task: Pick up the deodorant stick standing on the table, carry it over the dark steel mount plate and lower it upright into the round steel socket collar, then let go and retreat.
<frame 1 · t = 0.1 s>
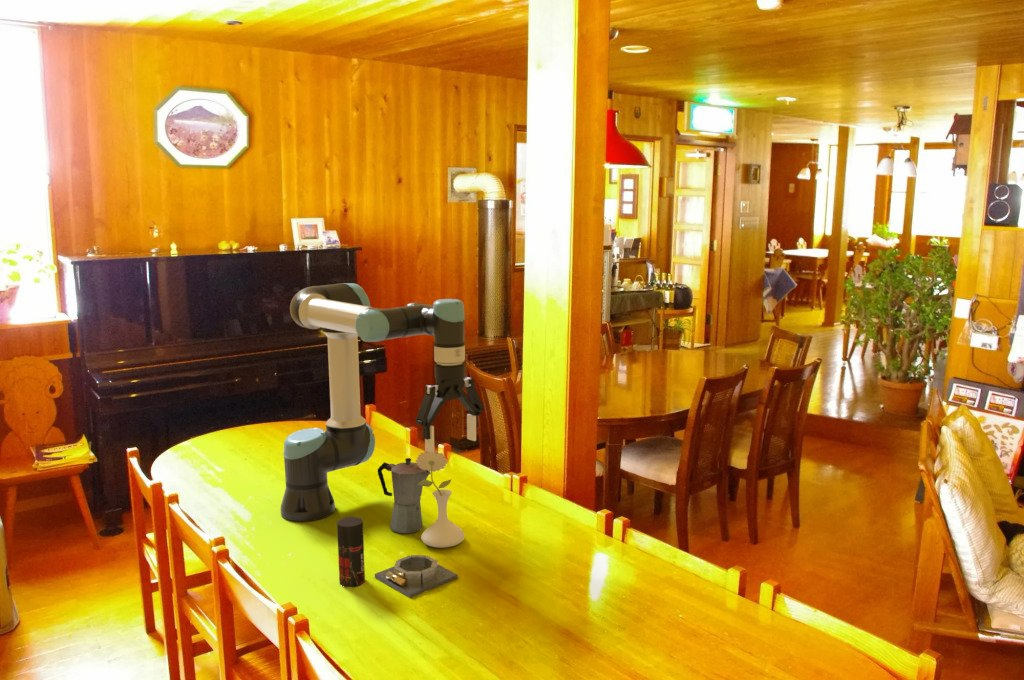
hand: (451, 445, 208), 28 cm above the table, fingers open, 13 cm apart
deodorant: (352, 582, 196), on the table
moka pot: (405, 528, 227), on the table
flower in vase: (440, 543, 218), on the table
socket mount: (416, 577, 198), on the table
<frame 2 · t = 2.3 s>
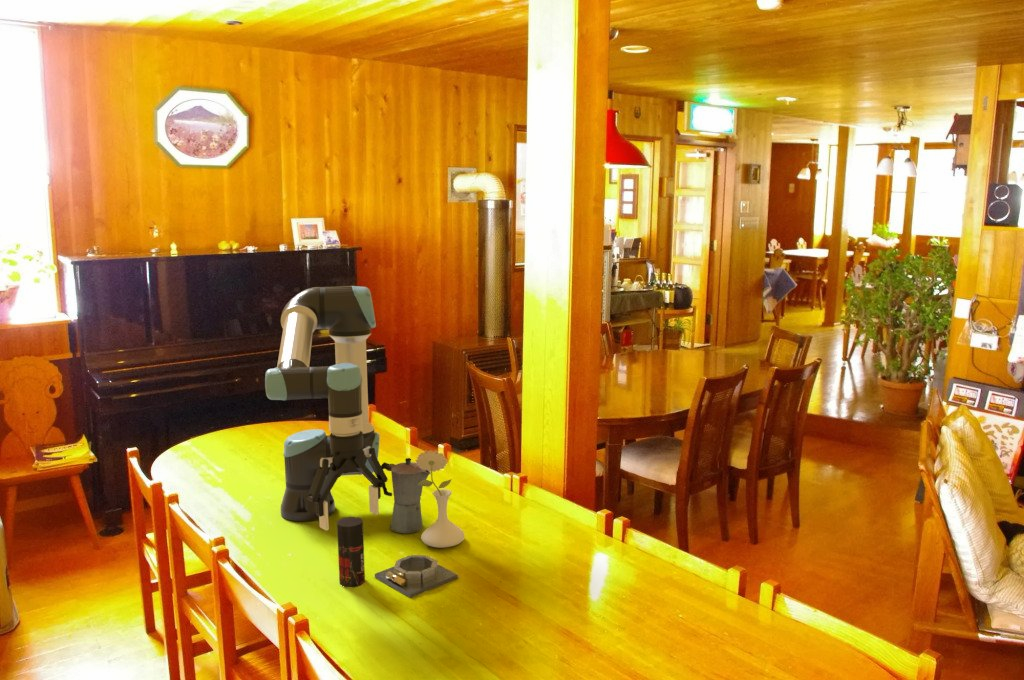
hand: (349, 520, 193), 15 cm above the table, fingers open, 13 cm apart
nothing on the table moved.
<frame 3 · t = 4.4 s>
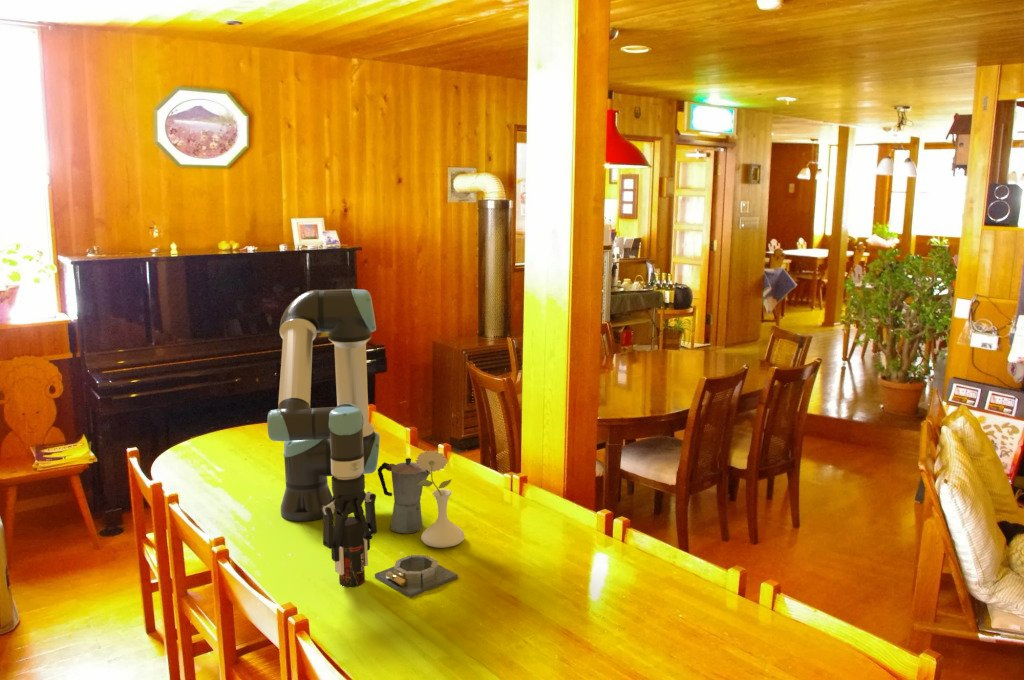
hand: (351, 568, 196), 3 cm above the table, fingers closed on deodorant, 6 cm apart
deodorant: (352, 582, 196), on the table, touching gripper
everything else where it was.
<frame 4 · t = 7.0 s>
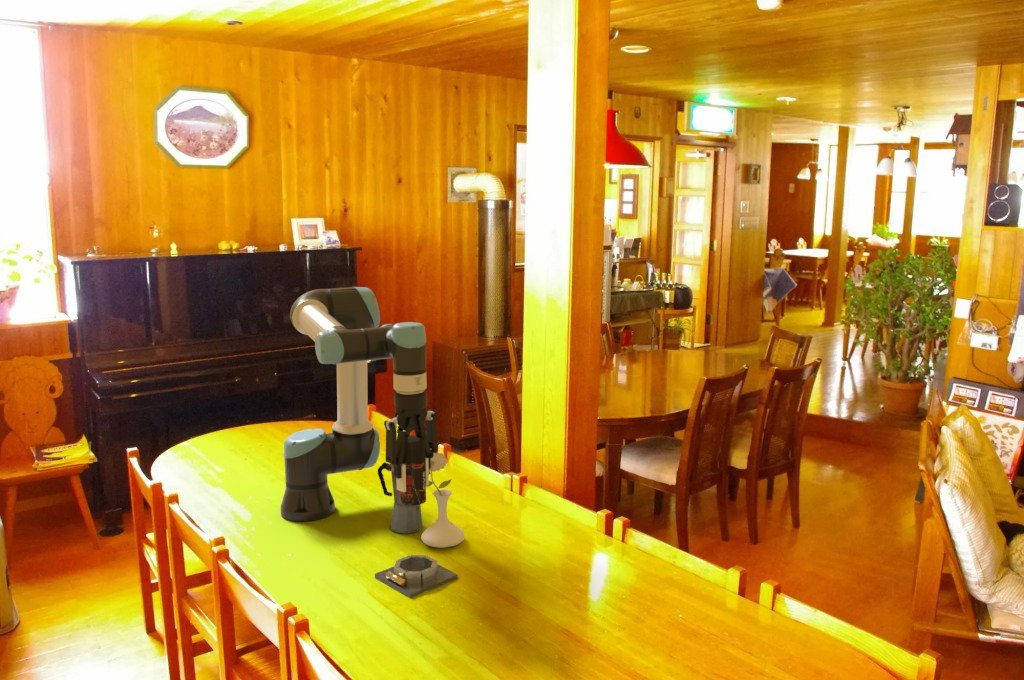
hand: (412, 486, 194), 23 cm above the table, fingers closed on deodorant, 6 cm apart
deodorant: (413, 501, 194), point 19 cm above the table, touching gripper
everything else where it was.
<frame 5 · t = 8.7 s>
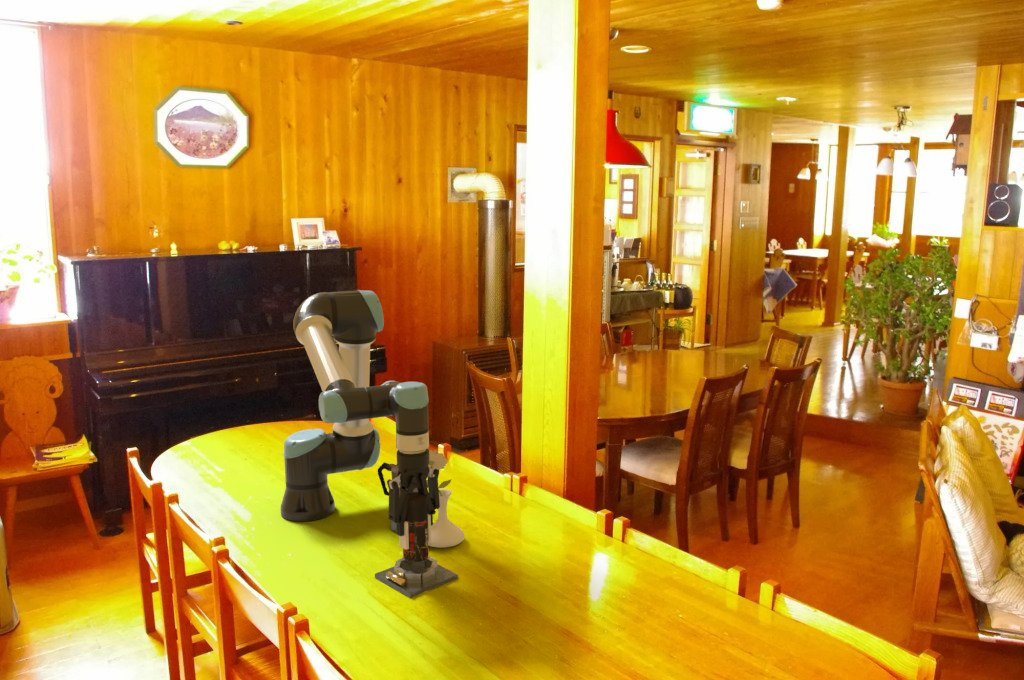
hand: (415, 543, 196), 9 cm above the table, fingers closed on deodorant, 6 cm apart
deodorant: (415, 557, 197), point 5 cm above the table, touching gripper
everything else where it was.
when the fingers open (6 cm above the table, at t = 10.0 s): deodorant drops 1 cm, resting on socket mount.
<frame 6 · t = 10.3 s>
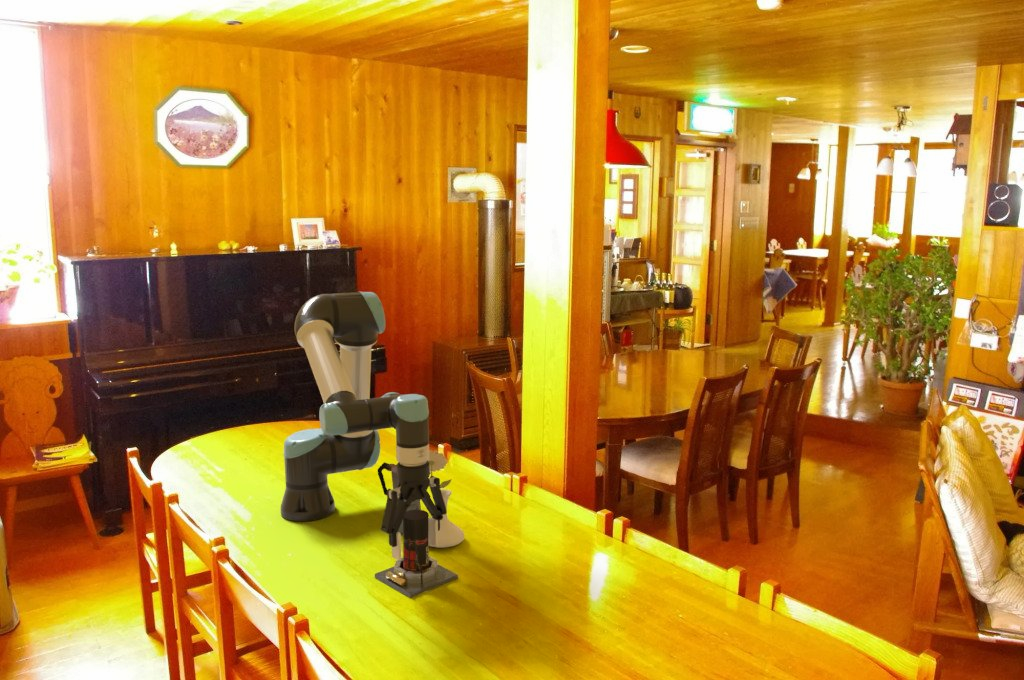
hand: (415, 551, 197), 7 cm above the table, fingers open, 10 cm apart
deodorant: (416, 574, 198), point 1 cm above the table, touching socket mount
everything else where it was.
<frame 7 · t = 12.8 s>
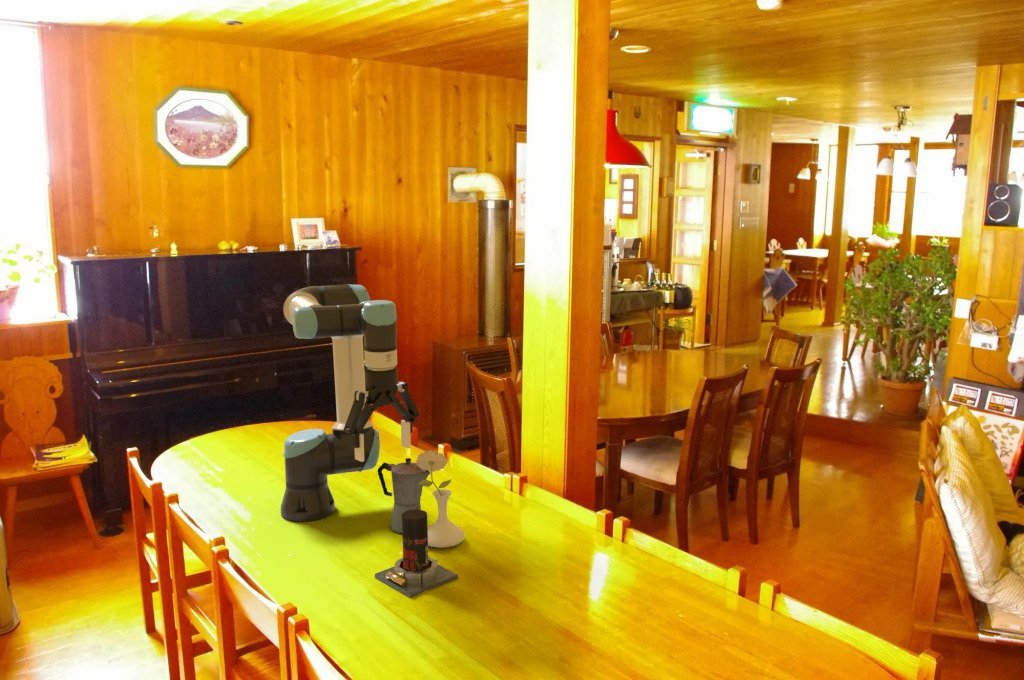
hand: (383, 453, 198), 29 cm above the table, fingers open, 13 cm apart
nothing on the table moved.
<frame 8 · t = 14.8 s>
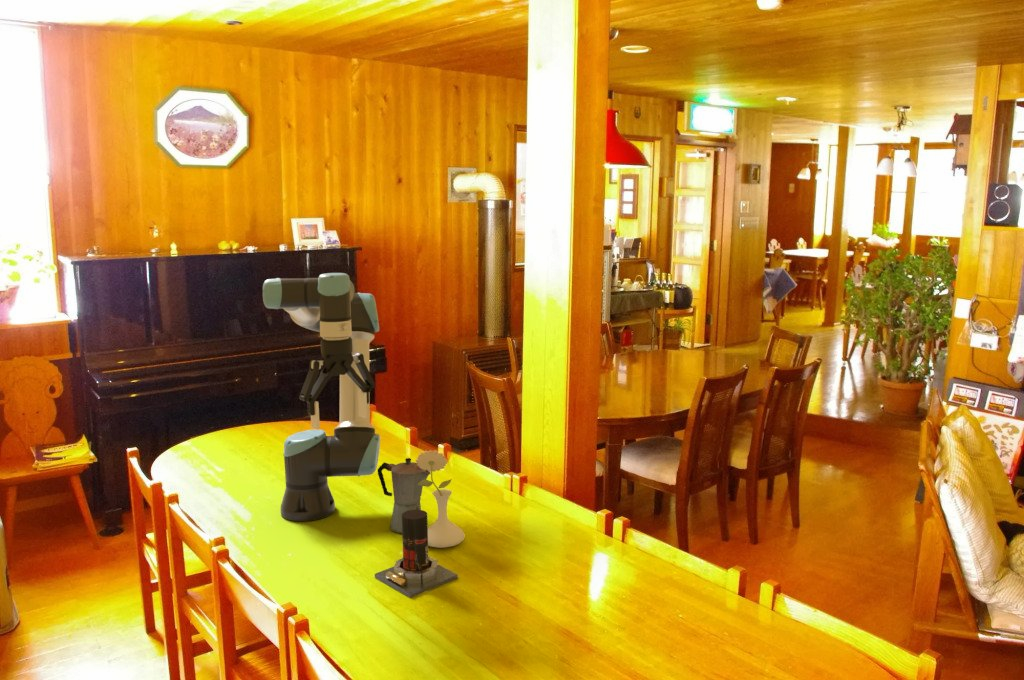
hand: (339, 422, 205), 35 cm above the table, fingers open, 13 cm apart
nothing on the table moved.
at the end: deodorant 0.0 cm off-centre on the socket mount, point 0.8 cm above the socket mount's base; deodorant tilted 0°; deodorant touching socket mount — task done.
